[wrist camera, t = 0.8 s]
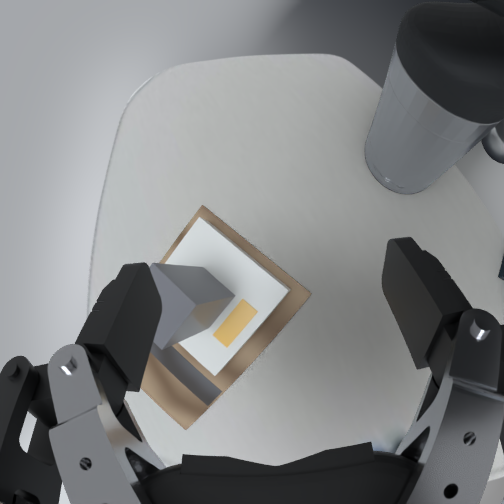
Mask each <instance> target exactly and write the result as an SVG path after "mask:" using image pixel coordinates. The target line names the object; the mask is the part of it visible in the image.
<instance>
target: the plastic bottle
mask: <svg viewBox="0 0 504 504" xmlns="http://www.w3.org/2000/svg"><path fill="white" fill-rule="evenodd" d="M482 144H483V146H484V149H485V151H486V152H487V154H488V155H489V156H490V157H491V158H492V159H493V160H495V161H497V162H499V163H502V164H504V118H503V119H502V120H501V121H500V122H499V123H498V124H497V125H496V126H495V127H494V128H493V129H492V130H491V131H490V132H489V133H488V134H487V135H486V136H485V137H484V138H483V139H482Z"/></svg>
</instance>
